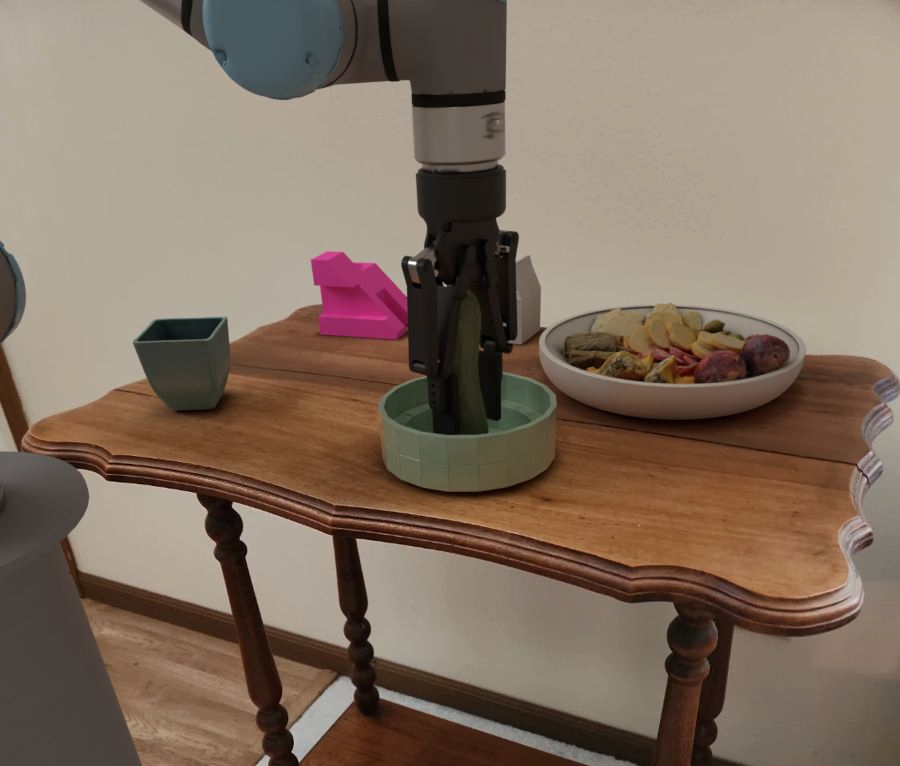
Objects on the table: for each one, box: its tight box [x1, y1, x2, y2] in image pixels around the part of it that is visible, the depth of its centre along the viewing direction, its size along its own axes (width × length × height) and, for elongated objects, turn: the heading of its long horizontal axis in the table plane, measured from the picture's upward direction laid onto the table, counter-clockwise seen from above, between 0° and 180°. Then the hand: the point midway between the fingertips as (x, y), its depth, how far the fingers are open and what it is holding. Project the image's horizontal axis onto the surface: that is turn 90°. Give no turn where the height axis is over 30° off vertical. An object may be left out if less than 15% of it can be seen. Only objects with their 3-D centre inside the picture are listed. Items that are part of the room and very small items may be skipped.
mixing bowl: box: [377, 371, 558, 493], centre depth 80 cm, size 17×17×6 cm
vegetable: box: [438, 284, 489, 435], centre depth 75 cm, size 4×4×20 cm
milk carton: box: [503, 254, 542, 345], centre depth 111 cm, size 4×7×10 cm, turn 153°
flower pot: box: [132, 316, 231, 411], centre depth 94 cm, size 9×9×9 cm
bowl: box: [538, 302, 807, 421], centre depth 95 cm, size 30×30×8 cm
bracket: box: [310, 250, 408, 340], centre depth 117 cm, size 12×10×10 cm
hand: (467, 427), depth 80 cm, fingers open, 6 cm apart
